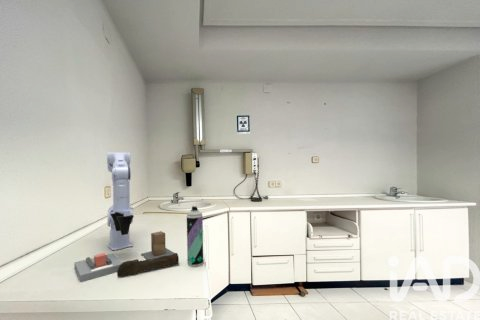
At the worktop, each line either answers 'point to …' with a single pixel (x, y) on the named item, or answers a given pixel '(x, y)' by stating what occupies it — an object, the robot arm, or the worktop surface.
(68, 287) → the worktop surface
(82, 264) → the panel
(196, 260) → the spray can
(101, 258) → the lever
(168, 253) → the mat
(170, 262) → the hand tool
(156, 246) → the tan wooden post
